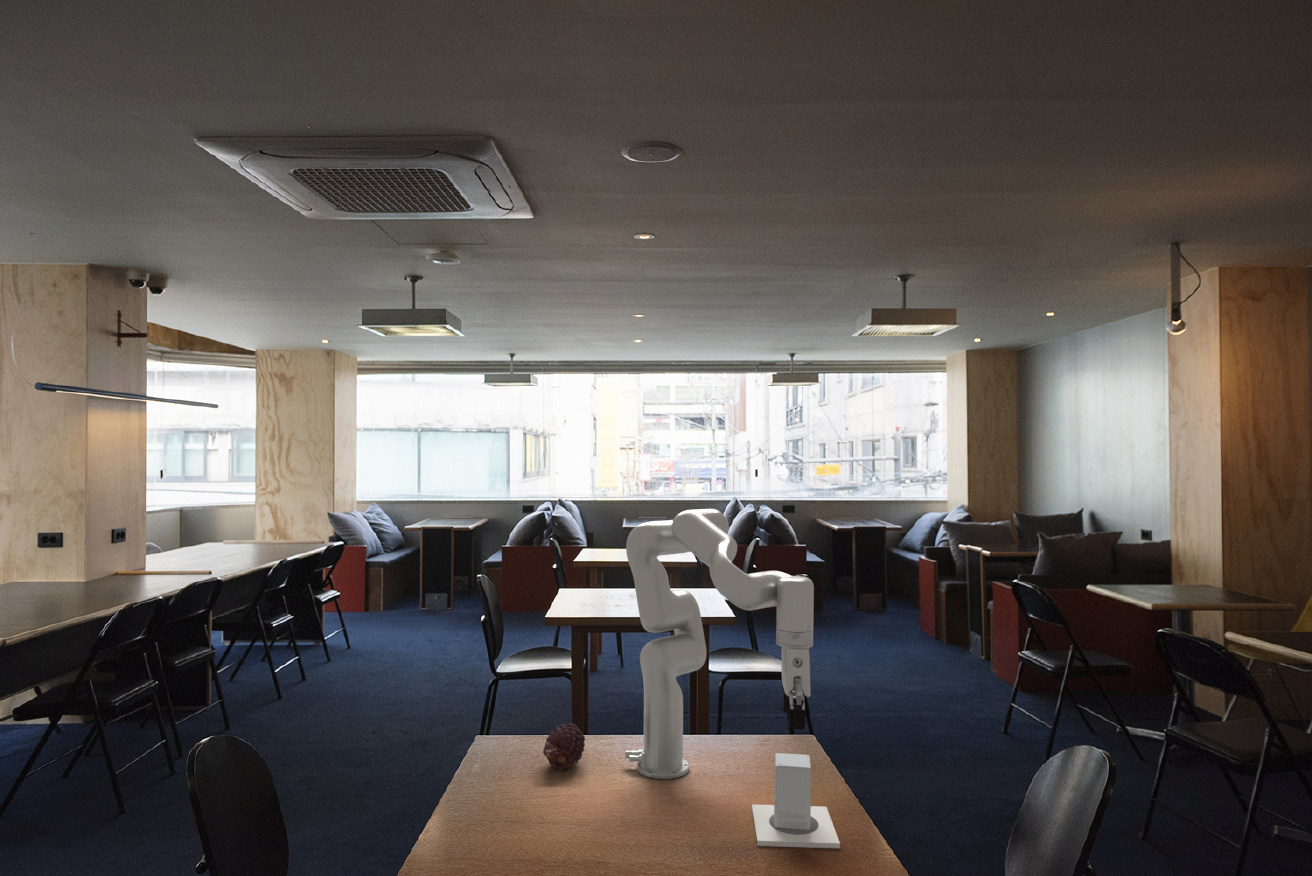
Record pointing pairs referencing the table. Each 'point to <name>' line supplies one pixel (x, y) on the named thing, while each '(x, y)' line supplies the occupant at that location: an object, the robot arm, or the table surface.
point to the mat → (794, 830)
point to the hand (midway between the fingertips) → (793, 720)
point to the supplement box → (792, 791)
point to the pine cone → (564, 746)
